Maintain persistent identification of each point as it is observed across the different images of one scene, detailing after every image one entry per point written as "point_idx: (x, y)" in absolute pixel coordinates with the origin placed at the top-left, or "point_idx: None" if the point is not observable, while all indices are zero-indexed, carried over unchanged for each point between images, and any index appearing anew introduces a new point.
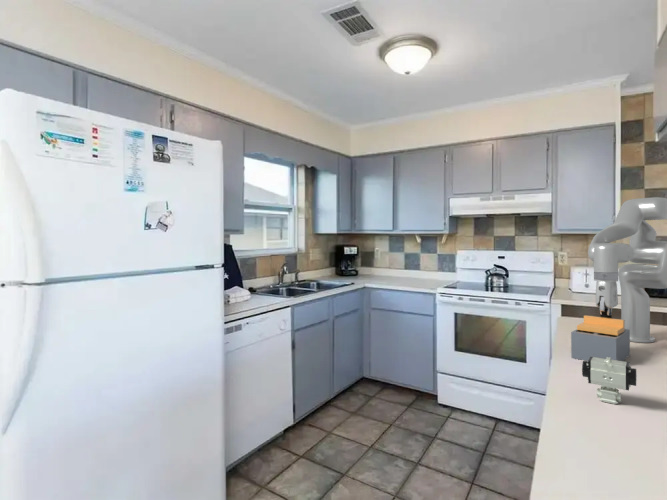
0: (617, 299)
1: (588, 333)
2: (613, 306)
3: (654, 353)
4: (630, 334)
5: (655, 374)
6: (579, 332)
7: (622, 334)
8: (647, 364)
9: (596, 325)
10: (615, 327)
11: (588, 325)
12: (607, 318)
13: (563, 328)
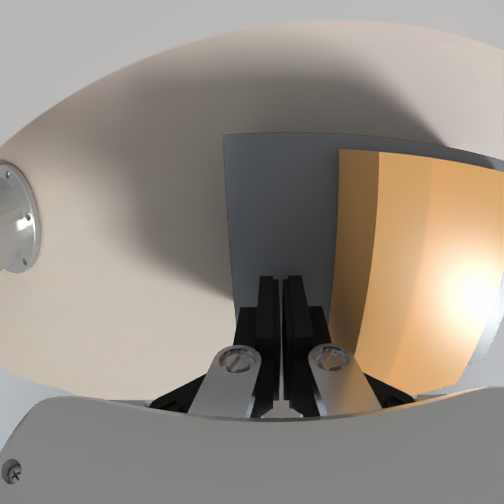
0: (6, 465)
1: (493, 305)
2: (411, 418)
3: (132, 85)
4: (15, 228)
5: (444, 44)
6: (484, 338)
7: (447, 147)
8: (347, 59)
9: (428, 330)
10: (439, 208)
11: (442, 356)
12: (392, 323)
13: (78, 394)
